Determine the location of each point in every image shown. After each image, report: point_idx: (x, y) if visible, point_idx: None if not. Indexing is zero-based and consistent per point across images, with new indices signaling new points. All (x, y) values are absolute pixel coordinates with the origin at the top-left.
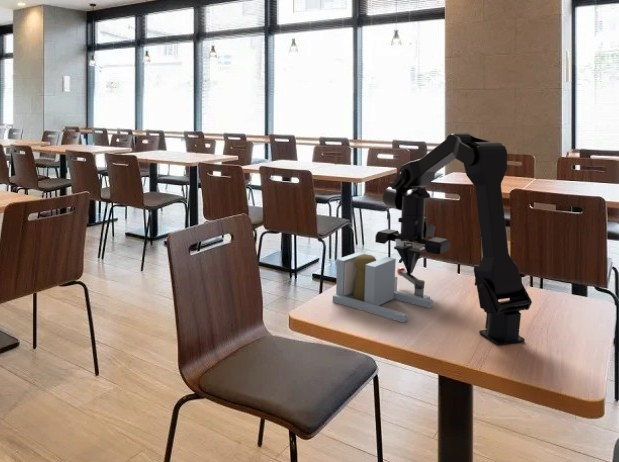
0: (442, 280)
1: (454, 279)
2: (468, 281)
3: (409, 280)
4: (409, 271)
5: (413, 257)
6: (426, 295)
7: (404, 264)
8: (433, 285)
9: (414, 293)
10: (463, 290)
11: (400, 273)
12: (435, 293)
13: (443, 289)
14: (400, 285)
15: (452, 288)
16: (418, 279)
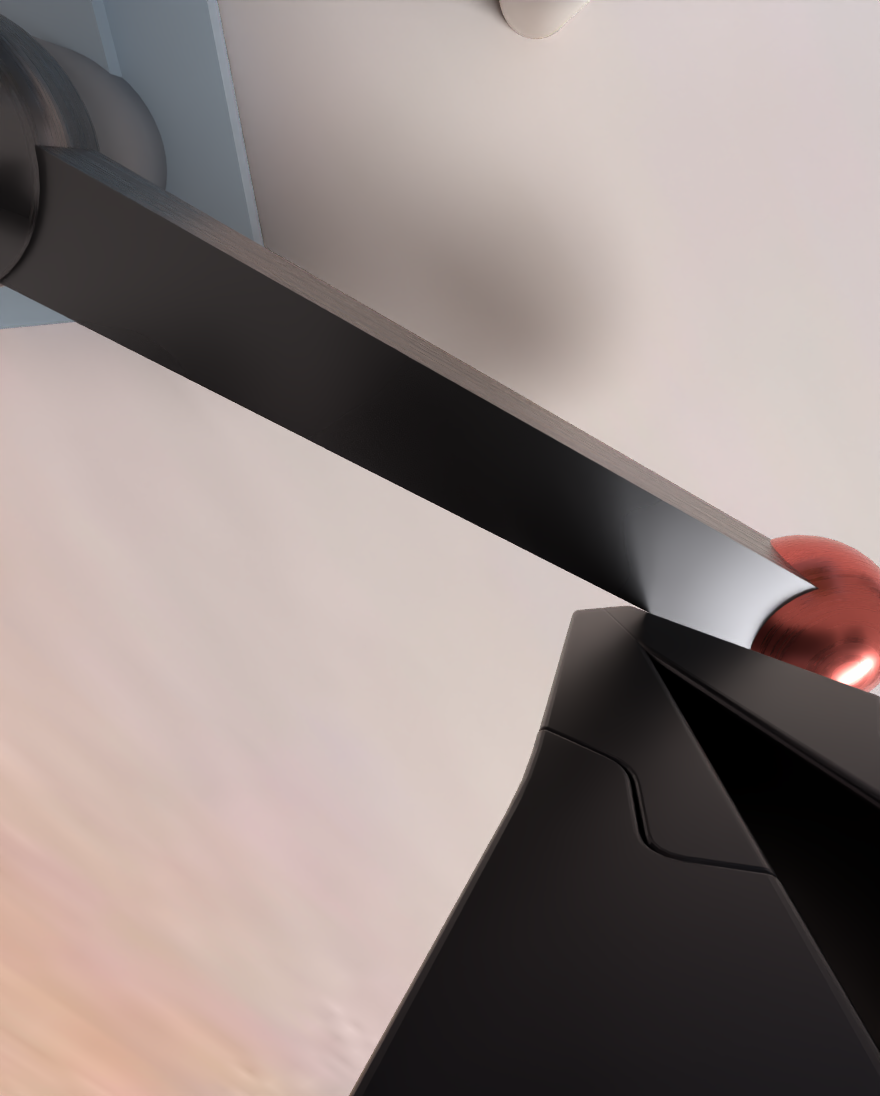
0: (409, 926)
1: (347, 1000)
2: (224, 1030)
3: (390, 322)
4: (593, 621)
5: (450, 933)
6: (45, 317)
7: (784, 666)
8: (373, 770)
9: (92, 66)
10: (48, 851)
11: (777, 545)
12: (147, 572)
13: (201, 745)
14: (696, 495)
15: (165, 826)
16: (77, 318)
